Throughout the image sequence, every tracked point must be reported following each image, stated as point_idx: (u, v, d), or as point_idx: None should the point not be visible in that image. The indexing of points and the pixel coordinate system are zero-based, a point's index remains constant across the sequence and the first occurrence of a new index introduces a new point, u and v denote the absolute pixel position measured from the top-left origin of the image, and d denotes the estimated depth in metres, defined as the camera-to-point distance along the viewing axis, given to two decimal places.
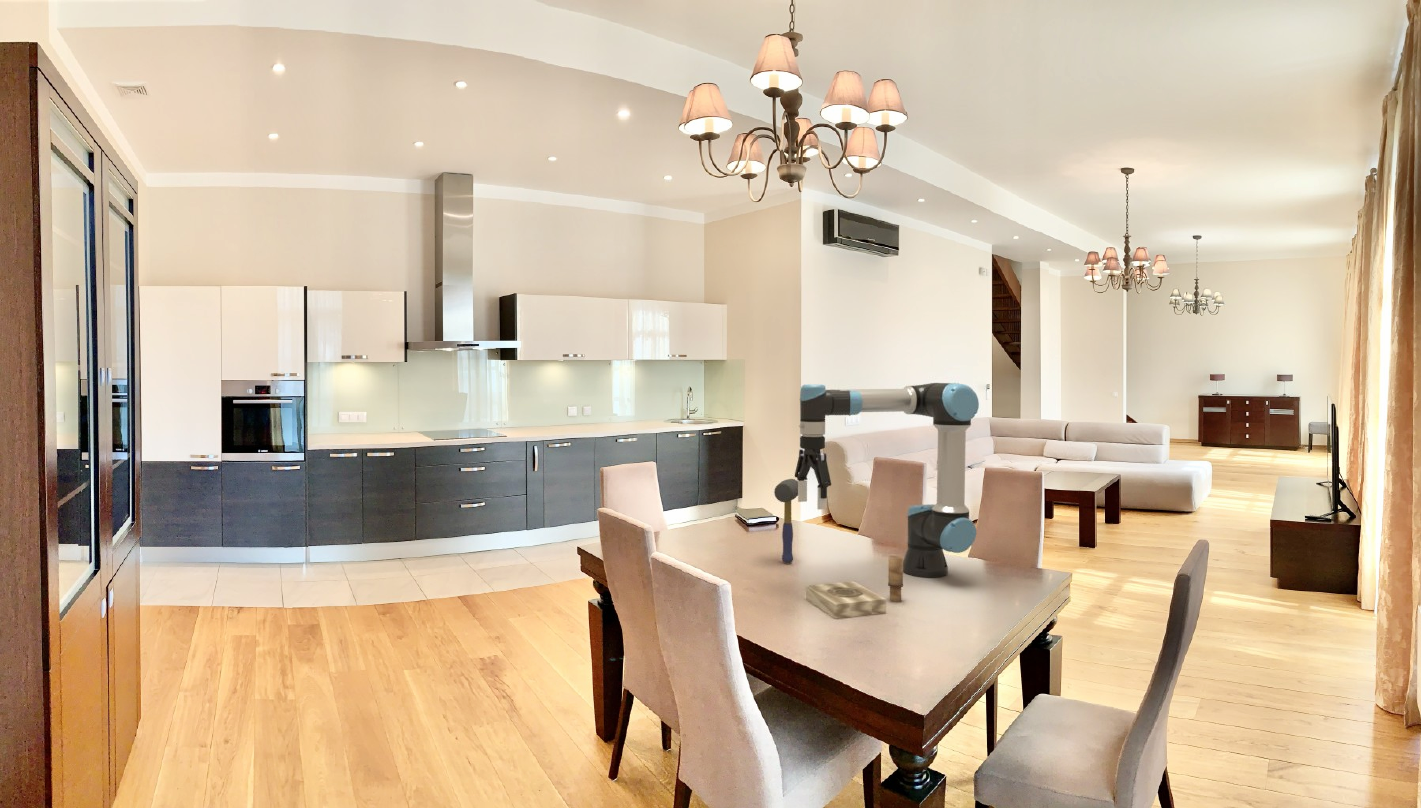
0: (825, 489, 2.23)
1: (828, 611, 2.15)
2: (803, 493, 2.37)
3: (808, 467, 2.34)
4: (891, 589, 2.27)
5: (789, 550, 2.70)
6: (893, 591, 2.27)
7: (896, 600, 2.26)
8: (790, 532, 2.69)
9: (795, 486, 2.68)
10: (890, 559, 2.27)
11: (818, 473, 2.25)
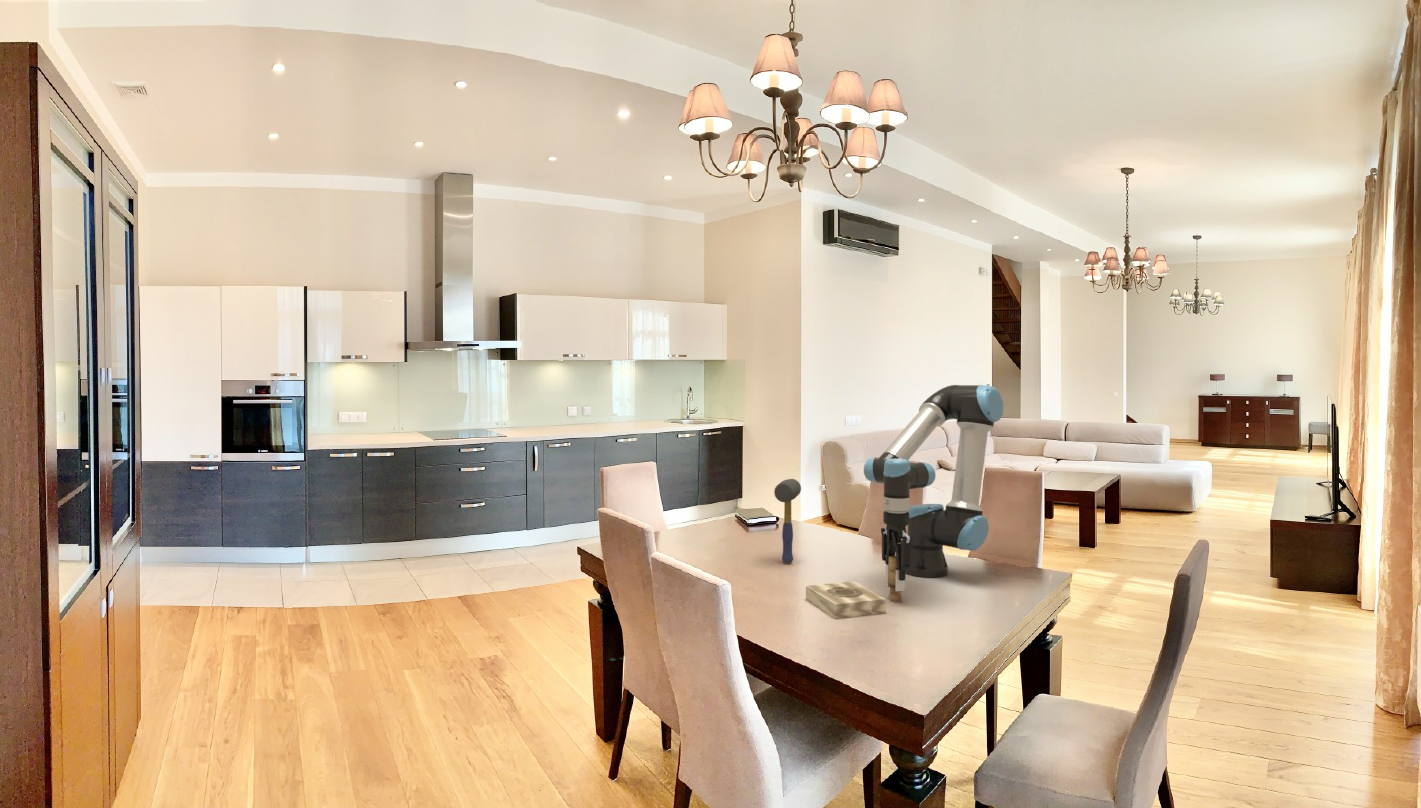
0: (903, 571, 2.24)
1: (828, 611, 2.15)
2: None
3: (894, 545, 2.29)
4: (891, 589, 2.27)
5: (789, 550, 2.70)
6: (893, 591, 2.27)
7: (896, 600, 2.26)
8: (790, 532, 2.69)
9: (795, 486, 2.68)
10: (890, 559, 2.27)
11: (899, 554, 2.24)
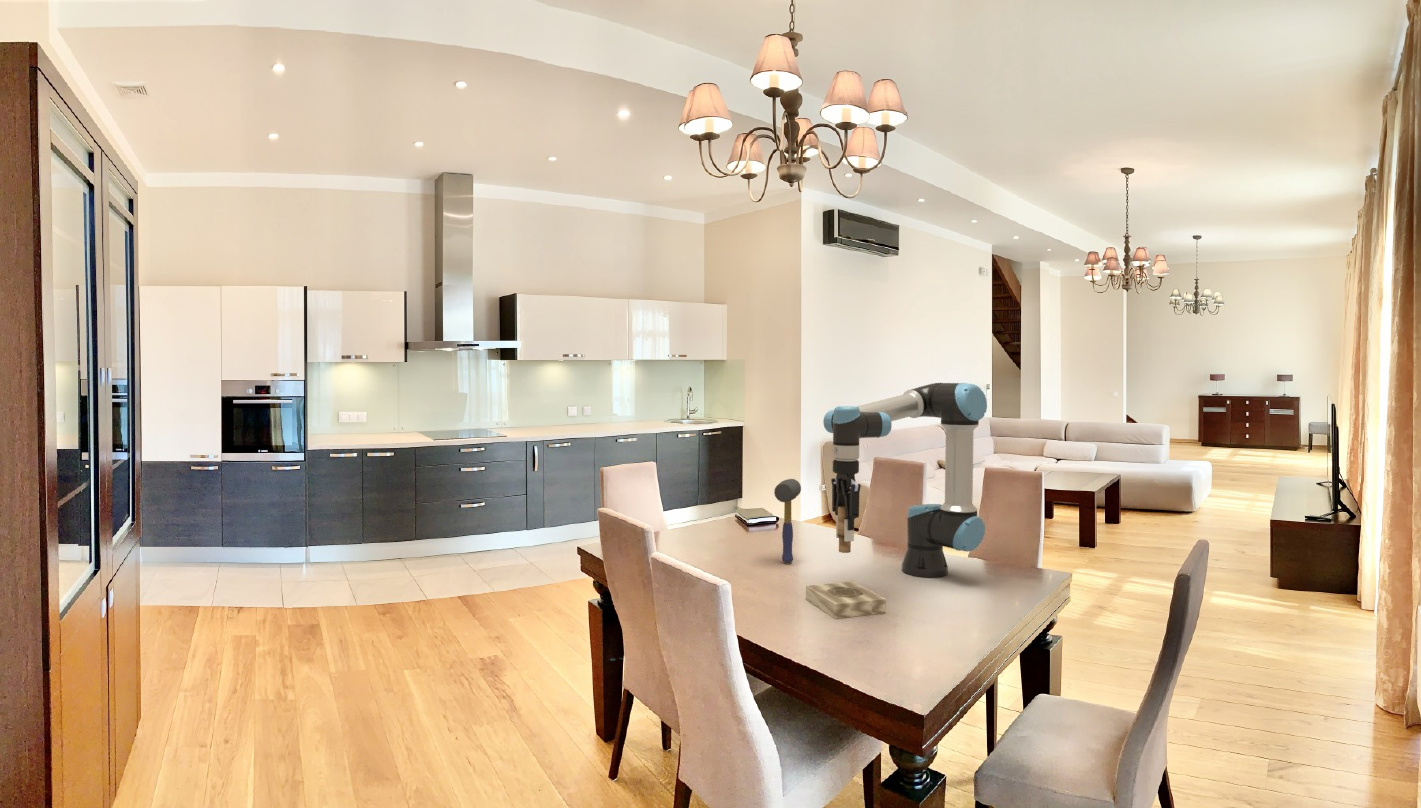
0: (852, 521, 2.18)
1: (828, 611, 2.15)
2: None
3: (844, 495, 2.23)
4: (840, 540, 2.21)
5: (789, 550, 2.70)
6: (842, 542, 2.20)
7: (845, 551, 2.20)
8: (790, 532, 2.69)
9: (795, 486, 2.68)
10: (839, 509, 2.20)
11: (848, 503, 2.18)
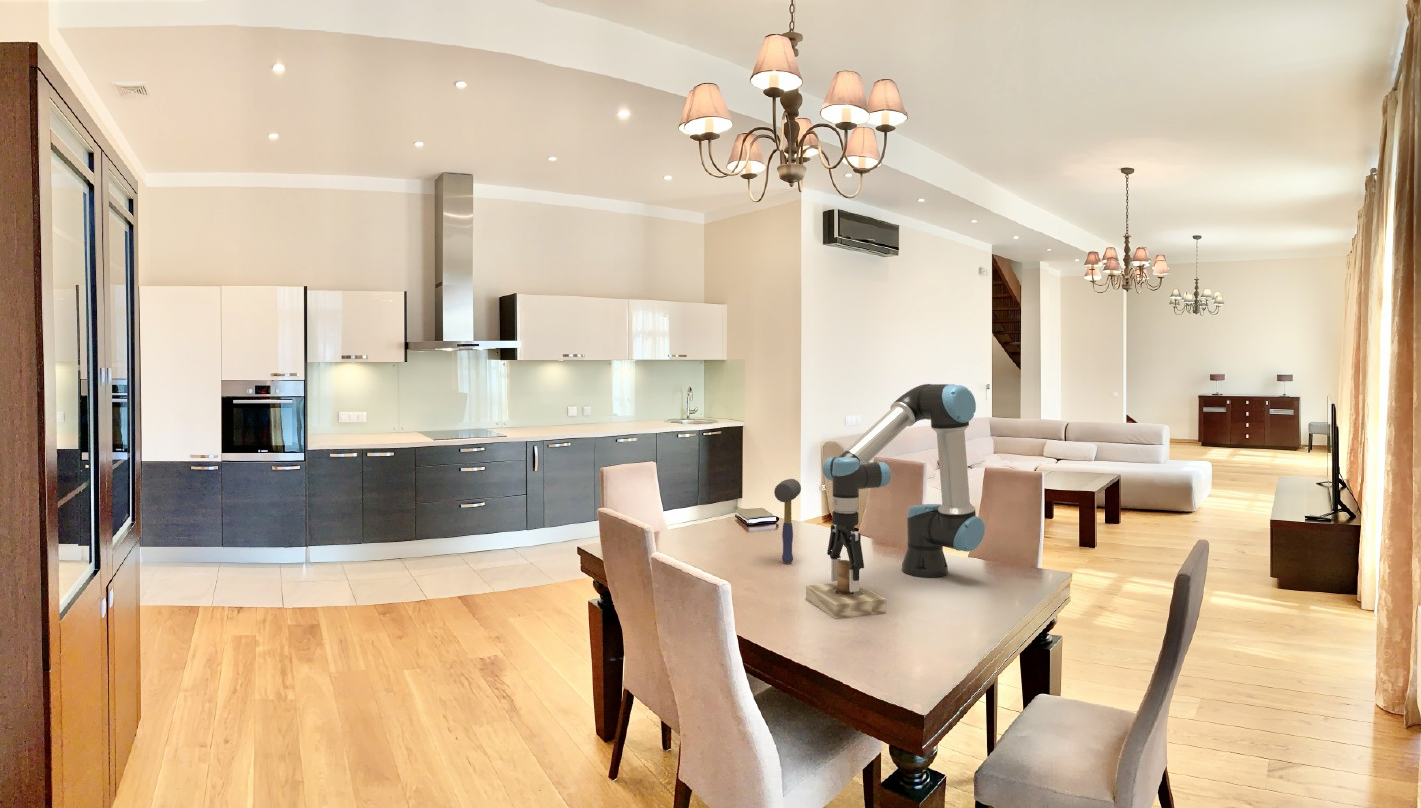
0: (857, 571, 2.16)
1: (828, 611, 2.15)
2: (836, 572, 2.27)
3: (841, 544, 2.25)
4: (840, 594, 2.22)
5: (789, 550, 2.70)
6: None
7: None
8: (790, 532, 2.69)
9: (795, 486, 2.68)
10: (839, 564, 2.21)
11: (851, 553, 2.17)
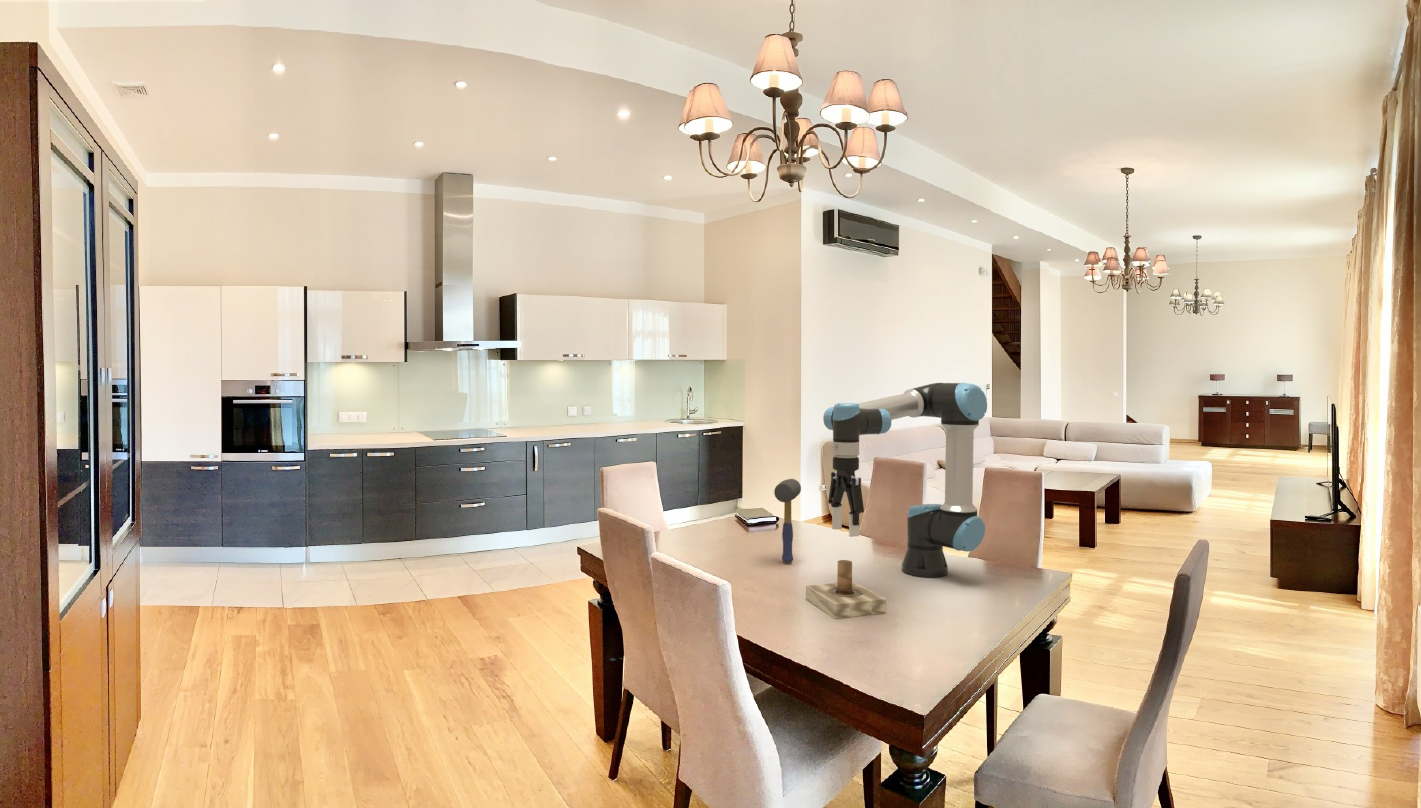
0: (857, 516, 2.15)
1: (828, 611, 2.15)
2: (837, 520, 2.26)
3: (842, 490, 2.24)
4: (840, 594, 2.22)
5: (789, 550, 2.70)
6: None
7: None
8: (790, 532, 2.69)
9: (795, 486, 2.68)
10: (839, 564, 2.21)
11: (851, 498, 2.17)
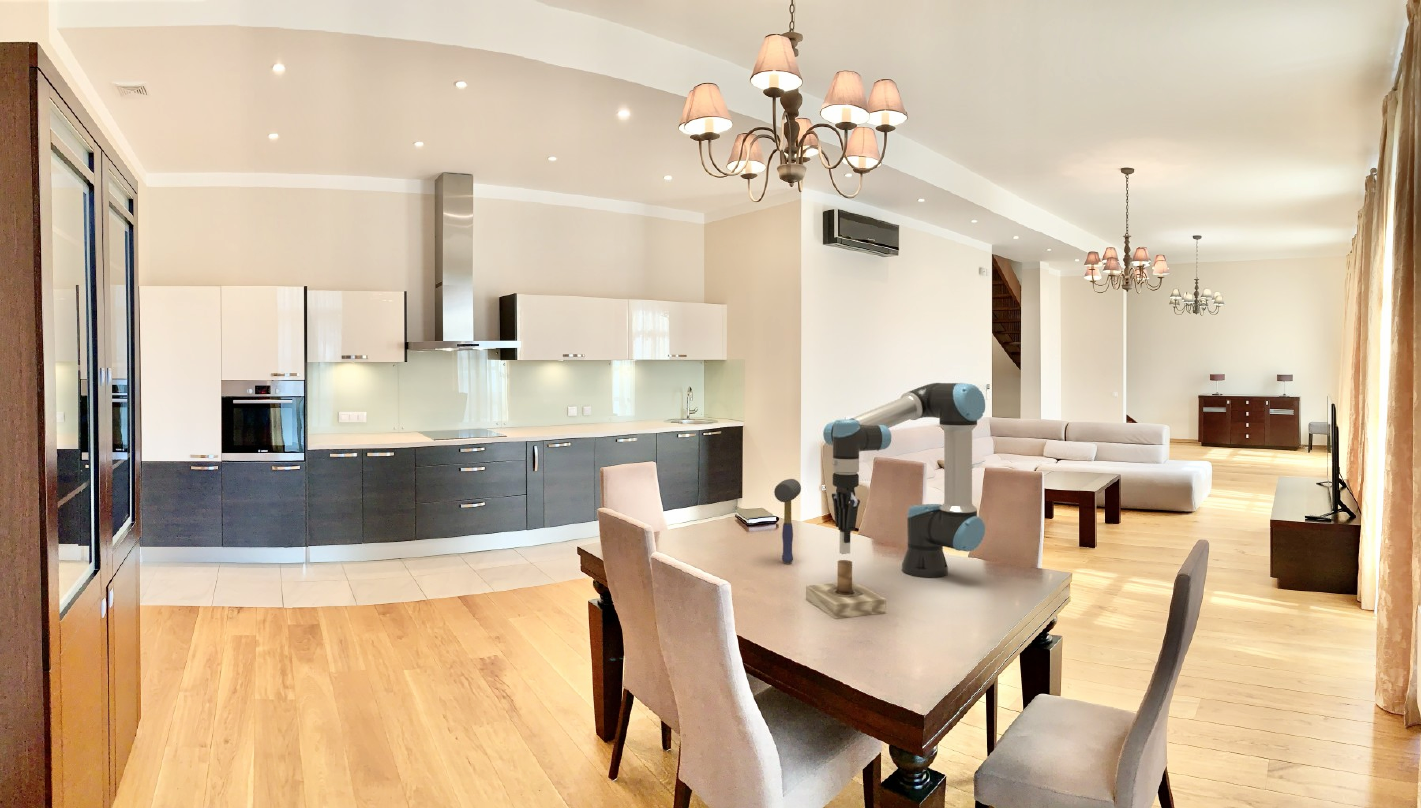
0: (849, 533, 2.20)
1: (828, 611, 2.15)
2: None
3: None
4: (840, 594, 2.22)
5: (789, 550, 2.70)
6: None
7: None
8: (790, 532, 2.69)
9: (795, 486, 2.68)
10: (839, 563, 2.21)
11: (846, 517, 2.20)
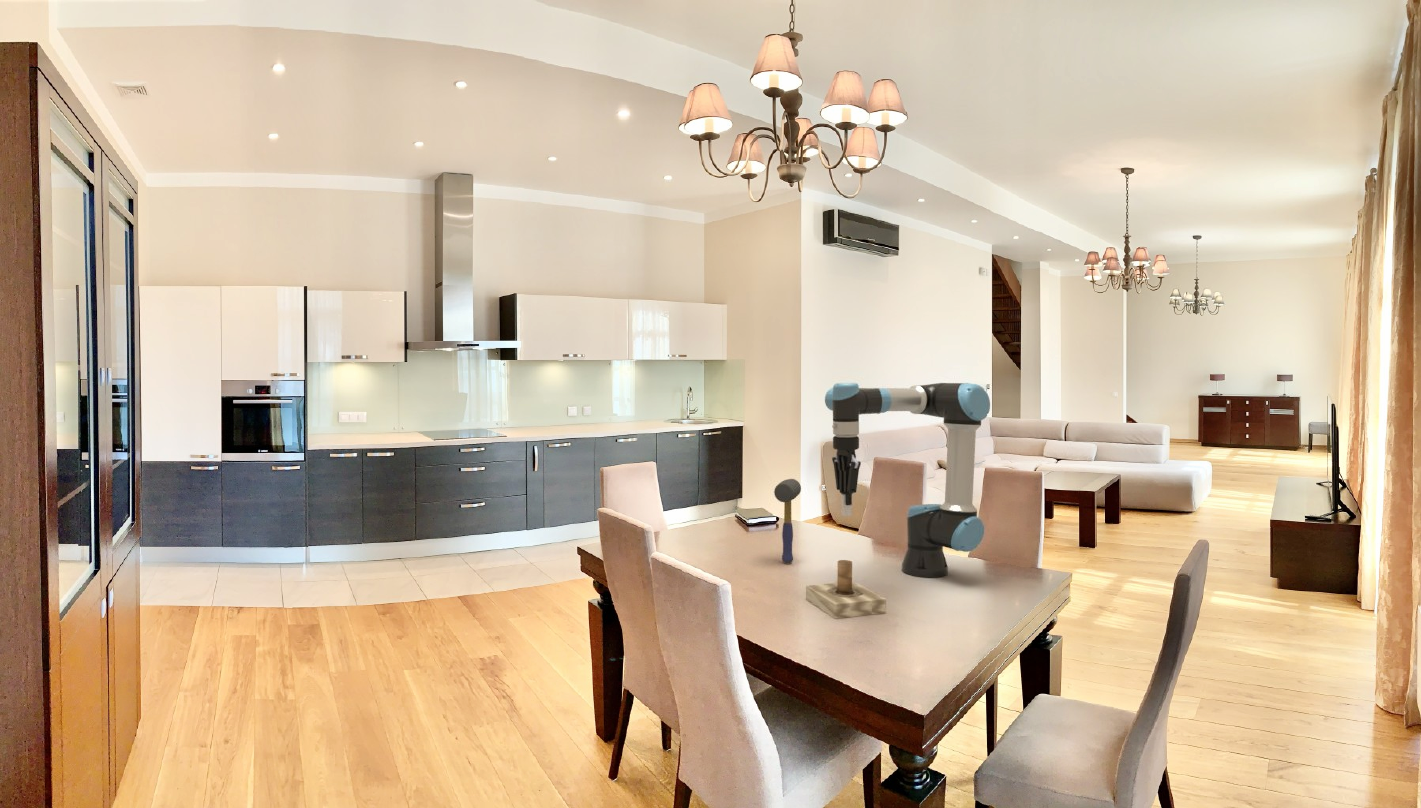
0: (850, 496, 2.22)
1: (828, 611, 2.15)
2: None
3: None
4: (840, 594, 2.22)
5: (789, 550, 2.70)
6: None
7: None
8: (790, 532, 2.69)
9: (795, 486, 2.68)
10: (839, 564, 2.21)
11: (847, 479, 2.21)
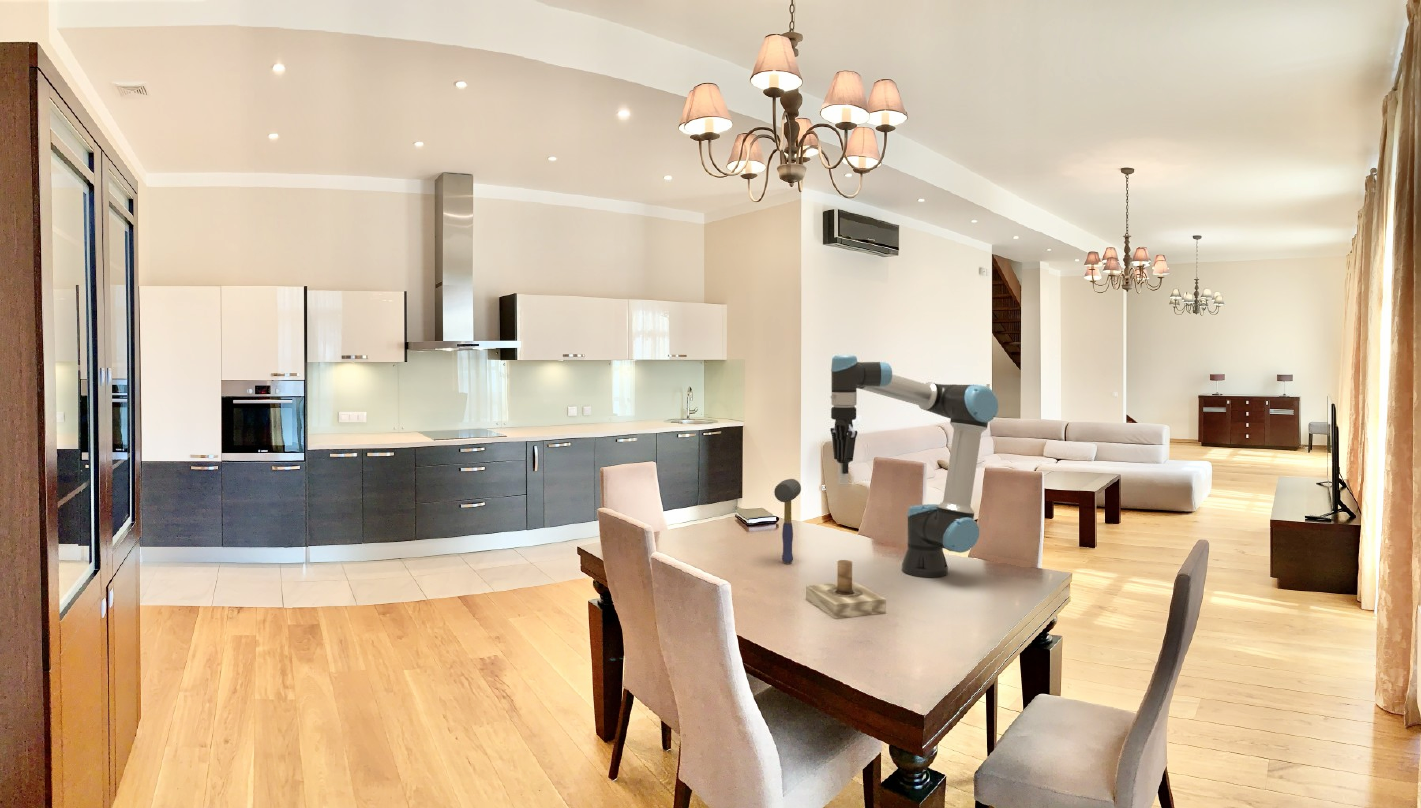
0: (847, 464, 2.29)
1: (828, 611, 2.15)
2: None
3: None
4: (840, 594, 2.22)
5: (789, 550, 2.70)
6: None
7: None
8: (790, 532, 2.69)
9: (795, 486, 2.68)
10: (839, 564, 2.21)
11: (844, 448, 2.29)
